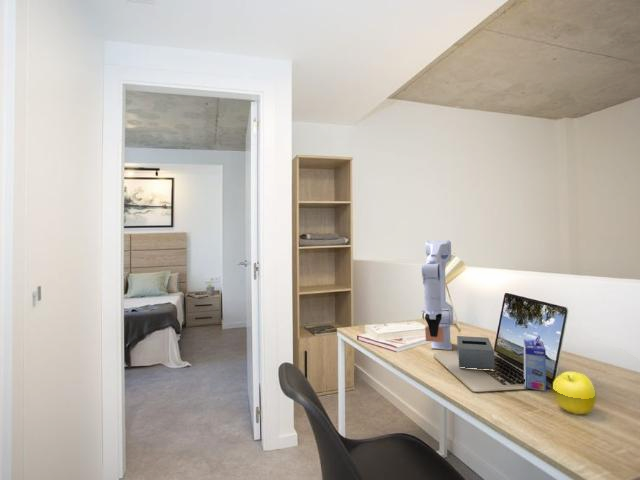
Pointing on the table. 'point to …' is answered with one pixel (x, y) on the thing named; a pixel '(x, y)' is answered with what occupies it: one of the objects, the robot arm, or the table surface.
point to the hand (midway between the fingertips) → (434, 335)
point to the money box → (475, 352)
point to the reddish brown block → (434, 339)
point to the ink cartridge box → (535, 364)
